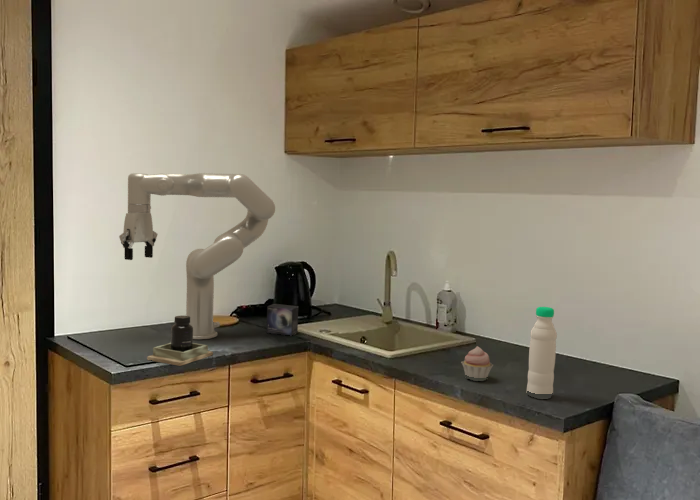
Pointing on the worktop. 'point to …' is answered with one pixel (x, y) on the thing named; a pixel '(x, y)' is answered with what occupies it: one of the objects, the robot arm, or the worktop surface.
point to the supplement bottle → (182, 334)
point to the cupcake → (477, 363)
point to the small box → (282, 319)
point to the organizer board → (179, 354)
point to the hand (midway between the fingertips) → (138, 258)
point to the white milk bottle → (542, 353)
